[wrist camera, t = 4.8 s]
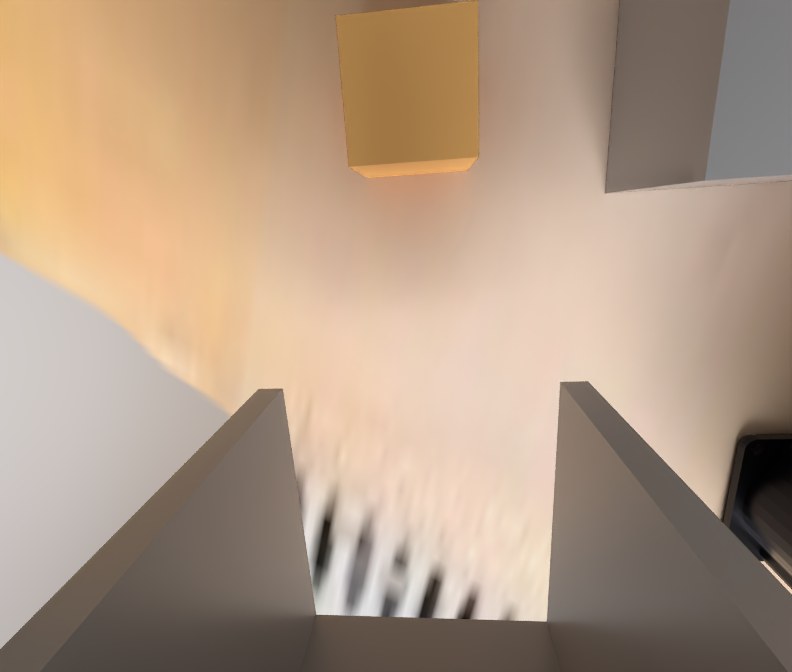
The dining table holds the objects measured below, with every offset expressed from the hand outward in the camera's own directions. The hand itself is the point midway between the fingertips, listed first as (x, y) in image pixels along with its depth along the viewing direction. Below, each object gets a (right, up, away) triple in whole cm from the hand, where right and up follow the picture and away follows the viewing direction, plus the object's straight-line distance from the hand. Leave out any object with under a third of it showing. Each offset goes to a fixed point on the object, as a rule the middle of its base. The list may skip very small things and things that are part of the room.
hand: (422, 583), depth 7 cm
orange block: (0, +13, +8) cm, 15 cm away
